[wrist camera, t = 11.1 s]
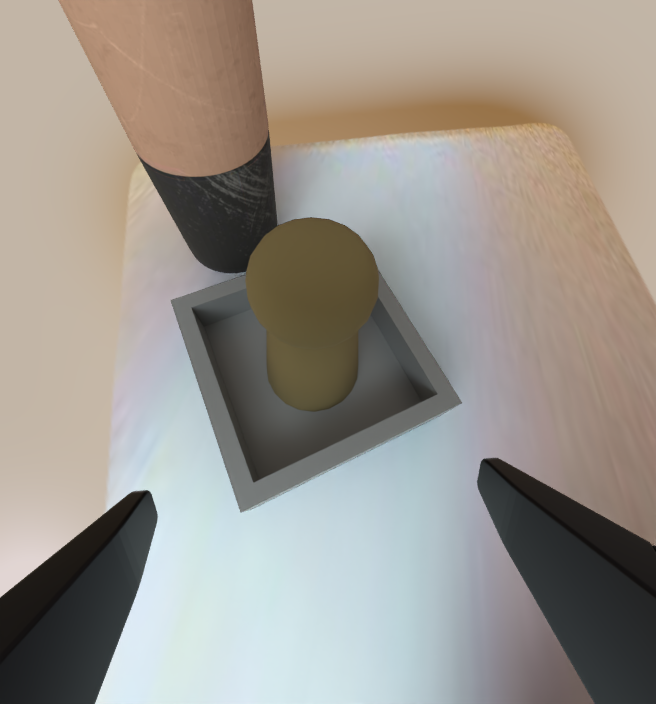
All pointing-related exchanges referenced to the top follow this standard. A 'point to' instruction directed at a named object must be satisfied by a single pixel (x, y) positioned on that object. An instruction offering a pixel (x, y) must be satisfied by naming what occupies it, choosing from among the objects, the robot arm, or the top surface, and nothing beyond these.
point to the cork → (312, 308)
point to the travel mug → (190, 113)
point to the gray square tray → (288, 422)
